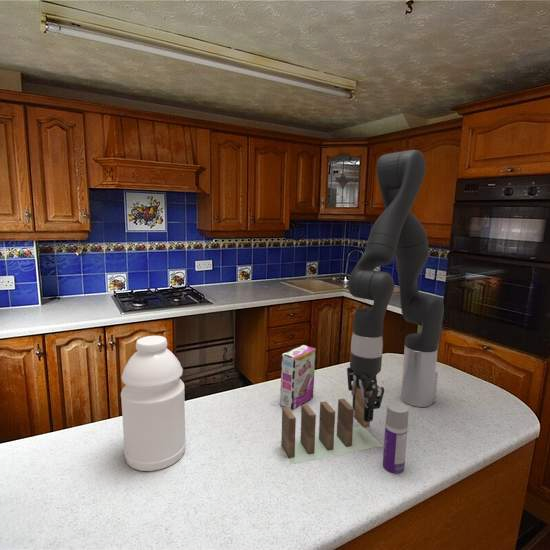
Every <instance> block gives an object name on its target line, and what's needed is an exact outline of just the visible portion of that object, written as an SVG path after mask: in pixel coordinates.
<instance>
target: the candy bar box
mask: <svg viewBox="0 0 550 550" xmlns="http://www.w3.org/2000/svg"><path fill="white" fill-rule="evenodd" d="M316 351H317V349H316V347H311V346H308V345H305V344H302V345H300V346H298V347H296V348H293V349H291V350H288V351H286V352H284V353H282V354H281V368H280V369H281V371H280V372H281V373H280V393H279V394H280V396H279V398H280V399H279V400H280V401H279V402H280V403H279V406H280V407H282V408H285V407H289V409H290V410H291V411H294V410H296V409H298V407H301V405H304V404H306V403H307V402H308V401H310V400H311V399H313V398H314V387H315V386H314V385H315V384H314V383H315V366H316Z"/></svg>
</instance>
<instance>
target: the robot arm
mask: <svg viewBox="0 0 550 550" xmlns="http://www.w3.org/2000/svg"><path fill="white" fill-rule="evenodd" d="M426 167H427V166H426V158H425V157H424V154H423V153H422V152H421V151H420V150H418V149H409V150H403V151H395V152H392V153H385V154H383V155H381V156H380V157H379V158H378V161H377V163H376V178H377V182H378V187H379V190H380V194H381V198H382V202H383V204H384V207H385V210H384V211H383V212H382V213H381V214H380V215H379V216H378V218H377V219H376V220H375V221H374V223H373V225H372V227H371V229H370V232H369V236H368V239H367V243H366V246H365V249H364V252H363V253H362V255H361V257H360V258H359V260H358V262H357V264H355V267H354V268H353V269H352V271H351V273H350V275H349V278H348V280H347V288H348V291H349V293H350V295H351V296H352V297H354V298H356V299H357V298H358V299H362V300H368V301H373V304H372V305H371V307H360V308H357V309H356V310H355V311H354V314H353V325H352V336H351V341H350V358H349V359H350V360H349V367H347V369H346V371H347V372H346V373H347V390H348V391H351V397H352V403H351V404H352V405H351V406H352V407H353V408H355V393H356V390H357V388H359V389H361V396H362V398H363V399H364V406H365V407H364V418H363V420H364V421H365V422H370V423H371V422H372V421H373V420H374V413H375V412H374V411H375V410H377V409H380V408H381V406H382V402H383V397H384V394H385V389H384V387H383V386H379V385H378V381H377V380H378V379H377V376H378V374H380V372H381V370H382V364H383V363H382V360H383V350H384V349H383V347H384V342H383V341H384V340H383V334H384V333H383V332H384V320H385V315H386V313H387V309H388V306H389V303H390V300H391V298H392V296H393V293H394V290H395V281H394V278H393V277H392V275H391V274H390V272H385V271H382V270H381V271H379V270H375V269H376V268H378V267H382V266H387V265H390V264H392V263H393V260H394V259H395V264H396V271H397V278H398V285H399V299H400V309H401V314H402V317H403V319H404V320H405V321H406V322H408V323H410V324H414V325H418V326H422V327H421V332H417V333H410V334H407V335H406V337H405V338H404V339H405V340H404V352H403V364H402V377H401V390H400V400H402V401H403V402H404V403H406V404H408V405H410V406H413V407H416V408H417V407H419V408H427V407H430V406H432V405H433V403H436V398H437V388H438V387H437V385H438V377H439V375H438V372H437V371H436V368H437V357H438V356H437V355H438V349H439V348H438V347H439V343H440V339H441V334H442V328H443V321H444V315H445V305H444V302H443V300H442V299H441V298H440V297H436V296H432V295H429V294H424V293H420V290H419V286H418V278H419V276H420V274H421V273H422V270H423V269H424V267H425V265H426V263H427V261H428V260H429V259H428V258H429V256H430V250H429V242H428V236H427V232H426V229H425V227H424V226H423V224H422V223H421V222H420V221H419V220H418V218H417V217H416V216H415V214H413V212H411V208H412V207H413V205H414V203H415V200H416V198H417V196H418V194H419V191H420V190H421V187H422V184H423V182H424V179H425V175H426V169H427V168H426ZM356 386H357V387H356ZM366 391H367V392H369V391H371V393H372V394H370V395H366V393H365V392H366ZM368 398H370V402H369V403H368Z"/></svg>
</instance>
